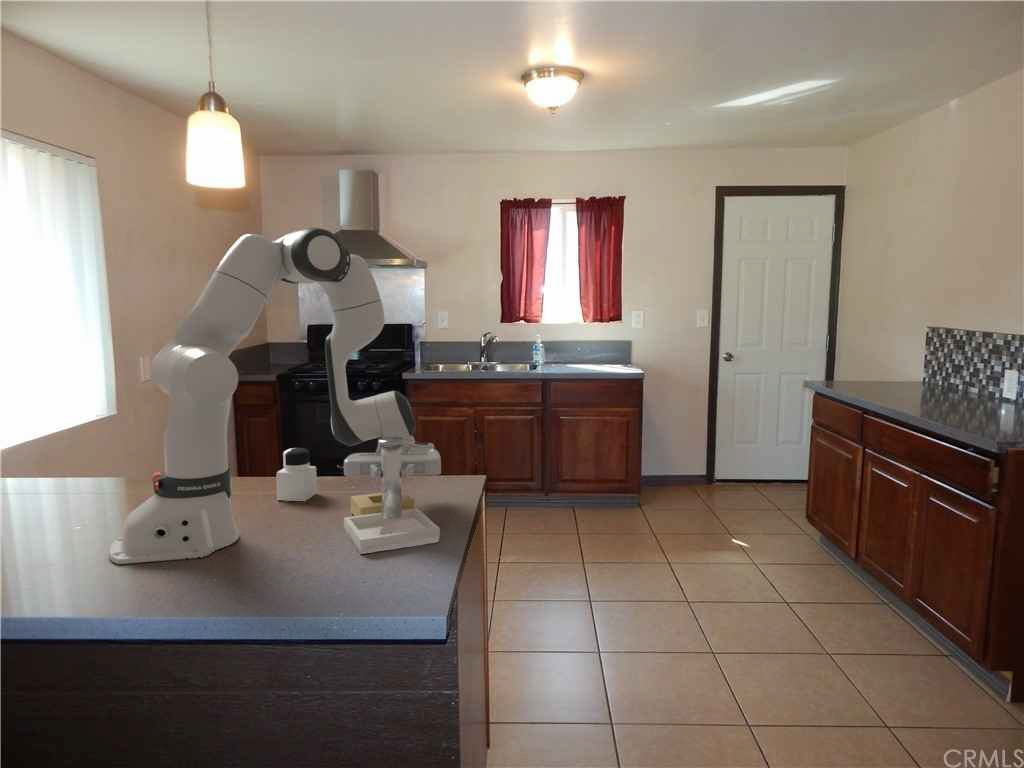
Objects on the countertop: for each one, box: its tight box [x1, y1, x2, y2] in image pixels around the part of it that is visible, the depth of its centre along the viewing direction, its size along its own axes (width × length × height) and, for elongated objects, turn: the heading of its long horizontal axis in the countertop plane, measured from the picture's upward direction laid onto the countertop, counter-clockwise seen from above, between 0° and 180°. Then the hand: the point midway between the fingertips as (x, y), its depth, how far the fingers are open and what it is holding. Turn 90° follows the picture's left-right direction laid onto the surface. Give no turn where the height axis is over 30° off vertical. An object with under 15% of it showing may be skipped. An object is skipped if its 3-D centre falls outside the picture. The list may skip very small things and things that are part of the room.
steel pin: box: [377, 437, 404, 520], centre depth 132 cm, size 5×5×16 cm
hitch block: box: [350, 490, 415, 516], centre depth 146 cm, size 12×9×4 cm
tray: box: [343, 507, 441, 551], centre depth 134 cm, size 16×14×3 cm
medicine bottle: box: [276, 447, 318, 502], centre depth 158 cm, size 7×7×12 cm
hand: (391, 474), depth 131 cm, fingers closed on steel pin, 4 cm apart
